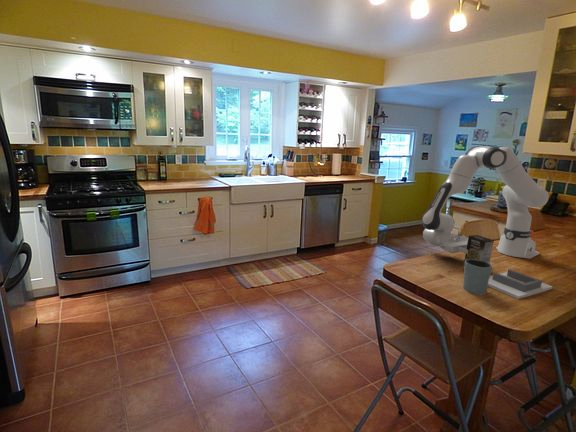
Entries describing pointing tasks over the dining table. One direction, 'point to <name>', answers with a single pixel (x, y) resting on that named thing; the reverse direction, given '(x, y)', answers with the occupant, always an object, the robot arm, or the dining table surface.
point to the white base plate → (517, 284)
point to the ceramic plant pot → (476, 276)
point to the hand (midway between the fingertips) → (474, 250)
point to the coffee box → (479, 248)
